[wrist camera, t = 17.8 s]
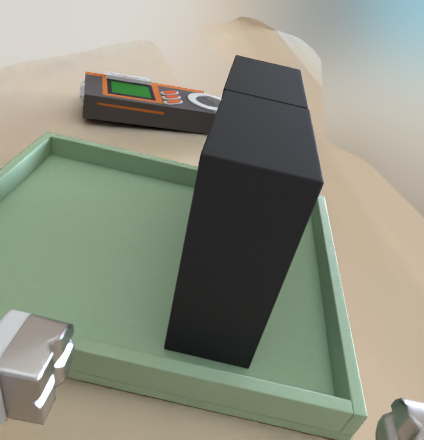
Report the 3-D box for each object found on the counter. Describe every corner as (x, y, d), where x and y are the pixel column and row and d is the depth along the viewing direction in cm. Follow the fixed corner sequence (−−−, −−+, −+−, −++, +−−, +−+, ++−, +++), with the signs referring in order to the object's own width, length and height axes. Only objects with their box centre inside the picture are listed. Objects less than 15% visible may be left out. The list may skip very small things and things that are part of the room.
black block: (163, 349, 18) (200, 153, 13) (190, 253, 24) (224, 89, 18) (248, 369, 18) (324, 182, 13) (255, 269, 24) (309, 109, 18)
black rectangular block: (189, 252, 24) (223, 88, 18) (206, 193, 30) (235, 54, 24) (254, 267, 24) (308, 108, 18) (258, 206, 30) (300, 69, 24)
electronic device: (240, 113, 40) (80, 89, 35) (232, 141, 41) (78, 121, 37) (223, 89, 45) (82, 65, 40) (217, 115, 46) (80, 94, 42)
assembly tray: (-140, 330, 17) (-157, 295, 16) (47, 156, 31) (46, 131, 30) (348, 443, 17) (368, 417, 16) (315, 218, 31) (324, 195, 30)
